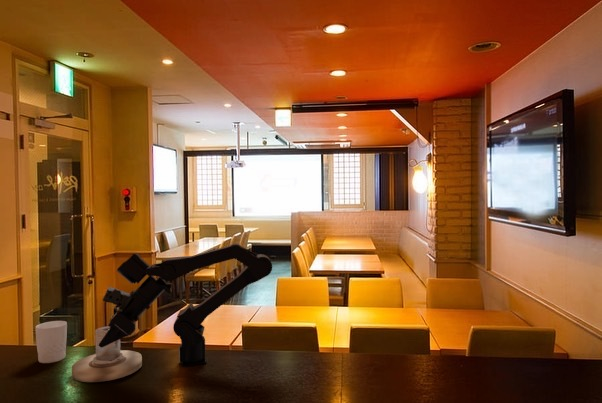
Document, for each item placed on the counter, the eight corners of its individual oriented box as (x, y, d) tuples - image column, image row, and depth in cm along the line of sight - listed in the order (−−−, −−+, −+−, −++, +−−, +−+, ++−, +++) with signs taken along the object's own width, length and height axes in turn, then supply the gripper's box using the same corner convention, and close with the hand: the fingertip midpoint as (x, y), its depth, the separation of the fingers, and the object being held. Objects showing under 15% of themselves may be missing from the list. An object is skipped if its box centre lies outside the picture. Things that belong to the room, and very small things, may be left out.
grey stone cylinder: (123, 354, 120) (123, 323, 120) (122, 363, 113) (121, 331, 113) (95, 358, 118) (94, 327, 118) (91, 367, 111) (91, 334, 111)
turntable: (142, 355, 126) (142, 347, 126) (141, 377, 110) (141, 367, 110) (77, 364, 121) (77, 355, 121) (66, 388, 105) (66, 378, 105)
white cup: (53, 365, 121) (52, 329, 121) (29, 363, 122) (28, 327, 122) (73, 355, 128) (73, 321, 128) (50, 353, 130) (50, 320, 130)
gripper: (123, 271, 126) (82, 313, 122) (119, 282, 108) (71, 331, 104) (153, 296, 128) (113, 338, 125) (154, 310, 111) (107, 360, 107)
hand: (101, 341), depth 115 cm, fingers open, 9 cm apart
